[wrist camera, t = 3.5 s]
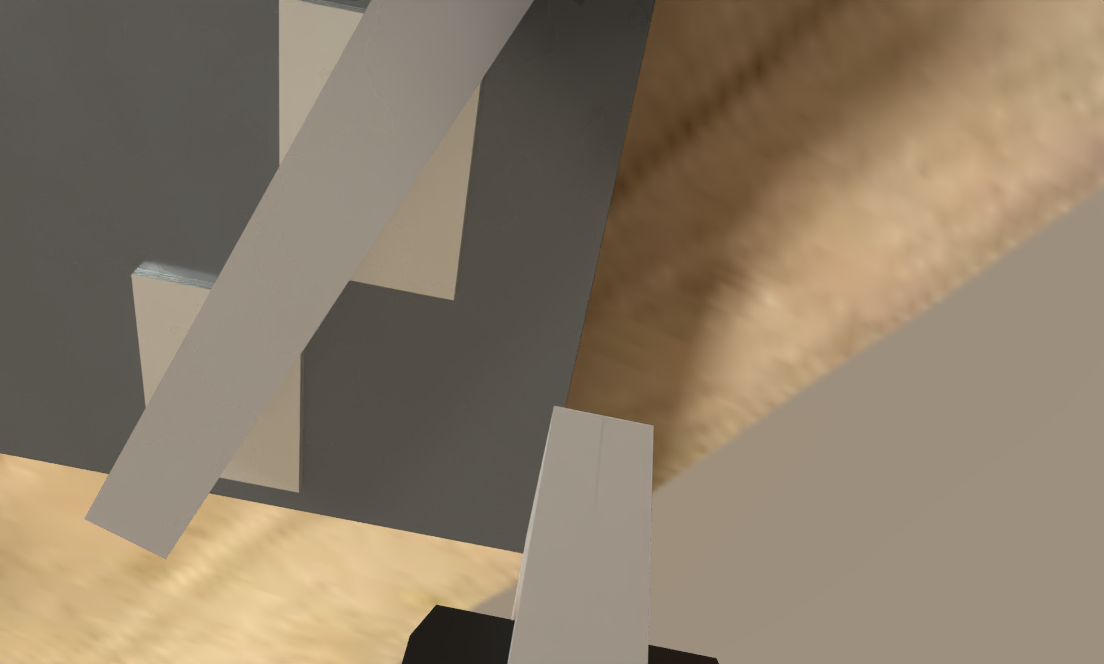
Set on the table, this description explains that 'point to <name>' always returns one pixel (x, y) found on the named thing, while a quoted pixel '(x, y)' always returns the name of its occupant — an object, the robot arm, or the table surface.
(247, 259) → the cable arm
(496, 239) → the grey flat block
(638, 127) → the table surface
